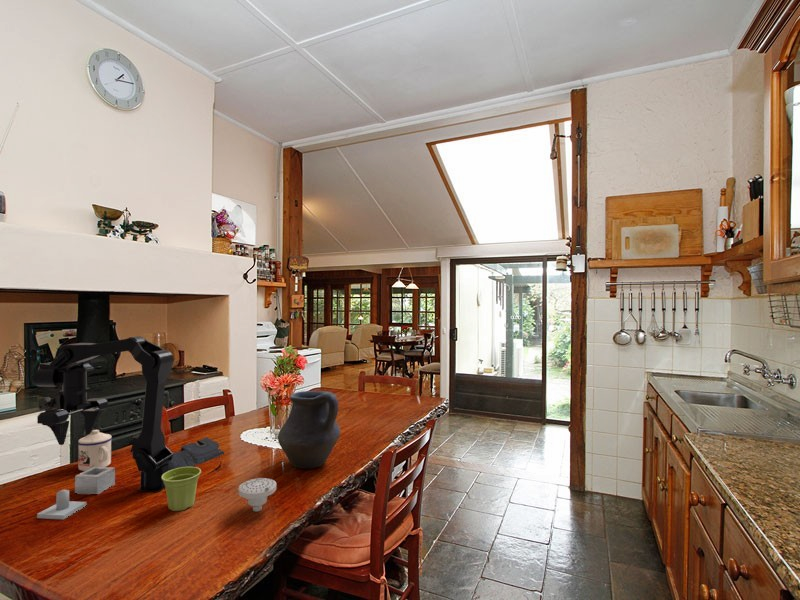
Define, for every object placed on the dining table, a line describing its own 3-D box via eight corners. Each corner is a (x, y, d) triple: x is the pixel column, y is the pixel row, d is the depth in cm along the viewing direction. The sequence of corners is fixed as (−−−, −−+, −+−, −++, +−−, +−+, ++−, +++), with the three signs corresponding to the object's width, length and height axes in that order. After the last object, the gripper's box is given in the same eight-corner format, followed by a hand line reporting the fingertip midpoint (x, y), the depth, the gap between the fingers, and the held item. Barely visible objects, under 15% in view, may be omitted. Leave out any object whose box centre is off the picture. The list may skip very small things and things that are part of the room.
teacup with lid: (72, 467, 136) (72, 431, 136) (103, 458, 144) (103, 424, 144) (89, 476, 130) (90, 438, 130) (121, 466, 138) (122, 430, 138)
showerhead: (252, 493, 104) (231, 482, 110) (252, 523, 104) (231, 510, 110) (285, 481, 111) (263, 471, 118) (284, 509, 111) (263, 497, 118)
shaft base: (86, 505, 112) (86, 484, 112) (63, 519, 105) (63, 496, 105) (61, 504, 112) (61, 483, 112) (37, 518, 105) (37, 495, 105)
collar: (114, 484, 124) (115, 467, 124) (97, 494, 118) (97, 476, 118) (93, 483, 125) (93, 466, 125) (74, 493, 118) (75, 475, 118)
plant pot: (156, 517, 106) (157, 482, 106) (165, 500, 115) (166, 468, 116) (197, 512, 109) (197, 478, 109) (203, 496, 118) (203, 464, 118)
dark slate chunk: (142, 468, 138) (143, 453, 138) (198, 447, 158) (198, 434, 158) (176, 476, 132) (176, 460, 132) (229, 453, 153) (230, 440, 153)
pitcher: (308, 448, 157) (309, 381, 157) (355, 460, 146) (356, 388, 146) (264, 467, 139) (265, 391, 139) (314, 482, 128) (315, 399, 128)
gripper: (75, 380, 134) (76, 429, 134) (18, 393, 116) (18, 450, 116) (108, 380, 133) (109, 430, 133) (56, 393, 115) (56, 450, 115)
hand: (75, 439), depth 124 cm, fingers open, 9 cm apart
